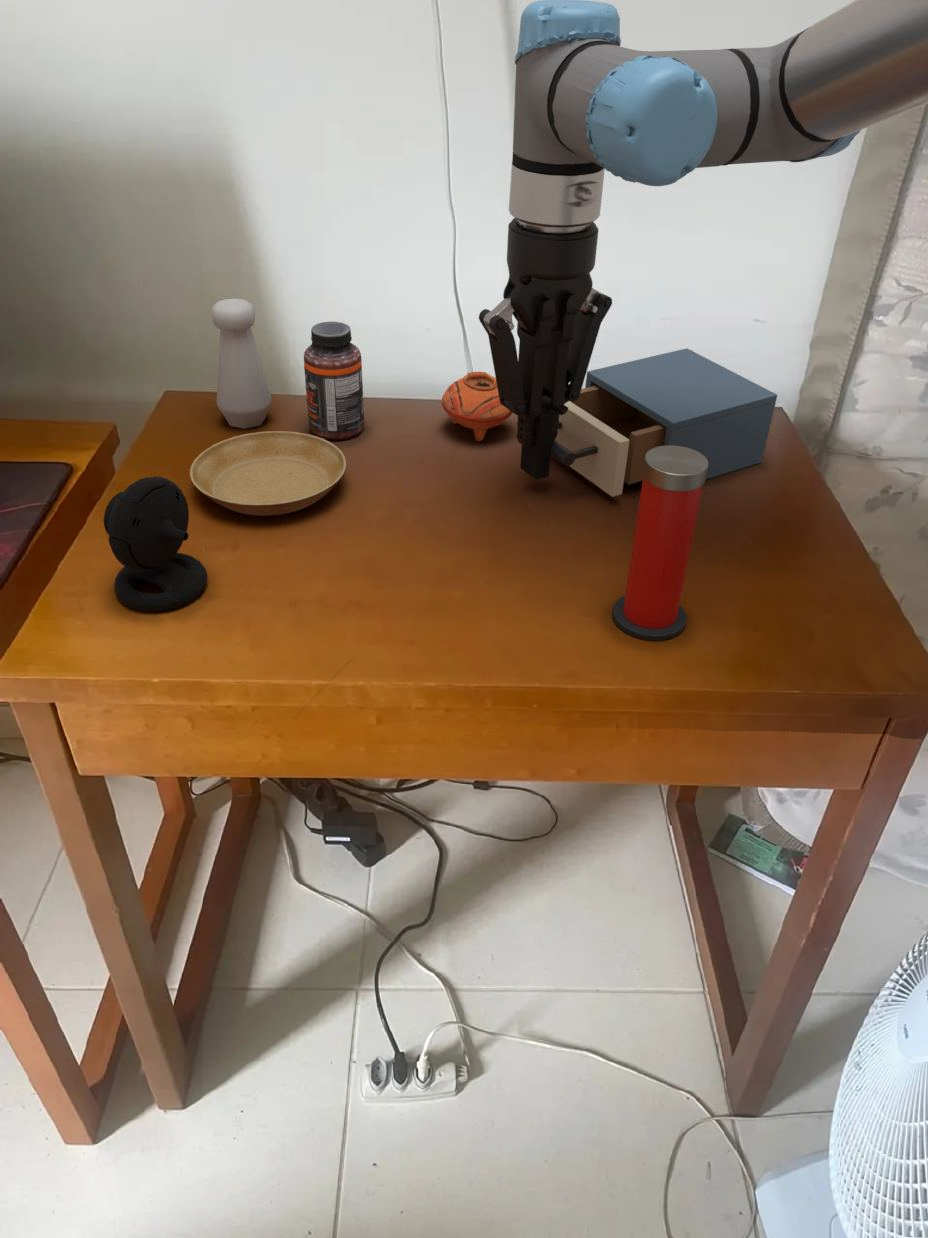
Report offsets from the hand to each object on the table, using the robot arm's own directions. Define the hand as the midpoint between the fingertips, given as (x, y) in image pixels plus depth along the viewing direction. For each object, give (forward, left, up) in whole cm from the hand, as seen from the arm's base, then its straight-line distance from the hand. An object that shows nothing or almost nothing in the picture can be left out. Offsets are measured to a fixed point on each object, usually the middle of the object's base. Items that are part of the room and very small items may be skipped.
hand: (534, 471), depth 96 cm
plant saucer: (+23, +10, -2) cm, 26 cm away
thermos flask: (-15, +16, -1) cm, 22 cm away
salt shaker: (+33, -2, -2) cm, 34 cm away
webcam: (+23, +28, -2) cm, 37 cm away
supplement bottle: (+23, -4, -2) cm, 24 cm away
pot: (+9, -10, -2) cm, 14 cm away
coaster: (-15, +16, -2) cm, 22 cm away
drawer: (-6, -7, -1) cm, 9 cm away
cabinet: (-11, -14, -2) cm, 18 cm away
